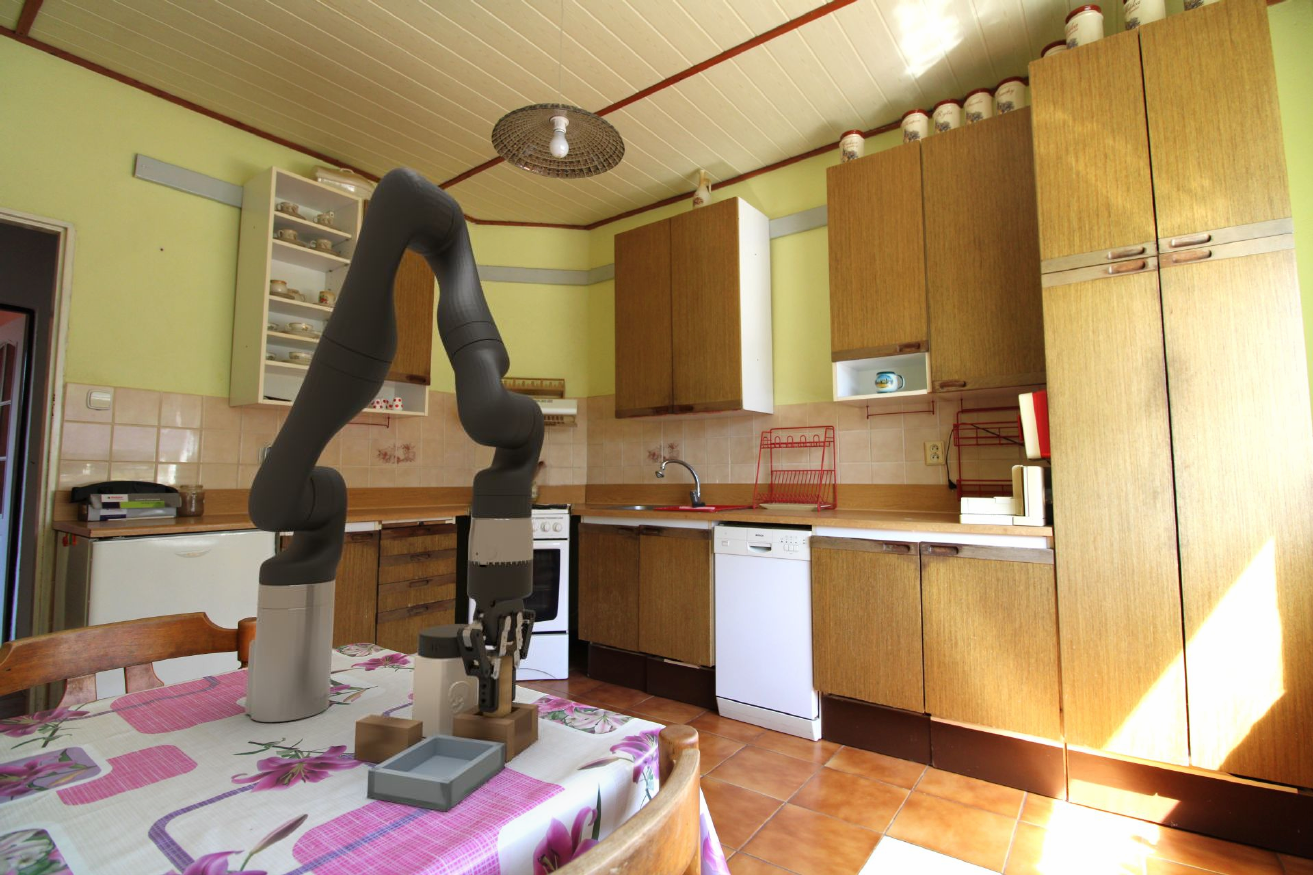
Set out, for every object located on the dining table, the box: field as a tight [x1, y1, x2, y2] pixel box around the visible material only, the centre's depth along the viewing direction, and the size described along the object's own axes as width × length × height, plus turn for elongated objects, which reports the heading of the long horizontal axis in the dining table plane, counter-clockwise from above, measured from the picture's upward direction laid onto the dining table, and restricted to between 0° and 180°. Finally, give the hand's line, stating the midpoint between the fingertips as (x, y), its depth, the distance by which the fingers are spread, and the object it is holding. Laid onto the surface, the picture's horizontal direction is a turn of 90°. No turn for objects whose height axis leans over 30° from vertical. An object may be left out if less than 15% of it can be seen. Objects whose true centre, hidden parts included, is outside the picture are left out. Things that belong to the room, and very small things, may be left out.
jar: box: [411, 623, 479, 739], centre depth 80 cm, size 9×8×12 cm
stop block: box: [353, 714, 423, 764], centre depth 70 cm, size 7×2×4 cm, turn 72°
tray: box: [366, 734, 506, 813], centre depth 64 cm, size 9×10×2 cm
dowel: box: [483, 655, 512, 719], centre depth 74 cm, size 3×3×10 cm
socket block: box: [453, 701, 540, 764], centre depth 73 cm, size 7×7×4 cm
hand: (497, 705), depth 74 cm, fingers closed on dowel, 3 cm apart
